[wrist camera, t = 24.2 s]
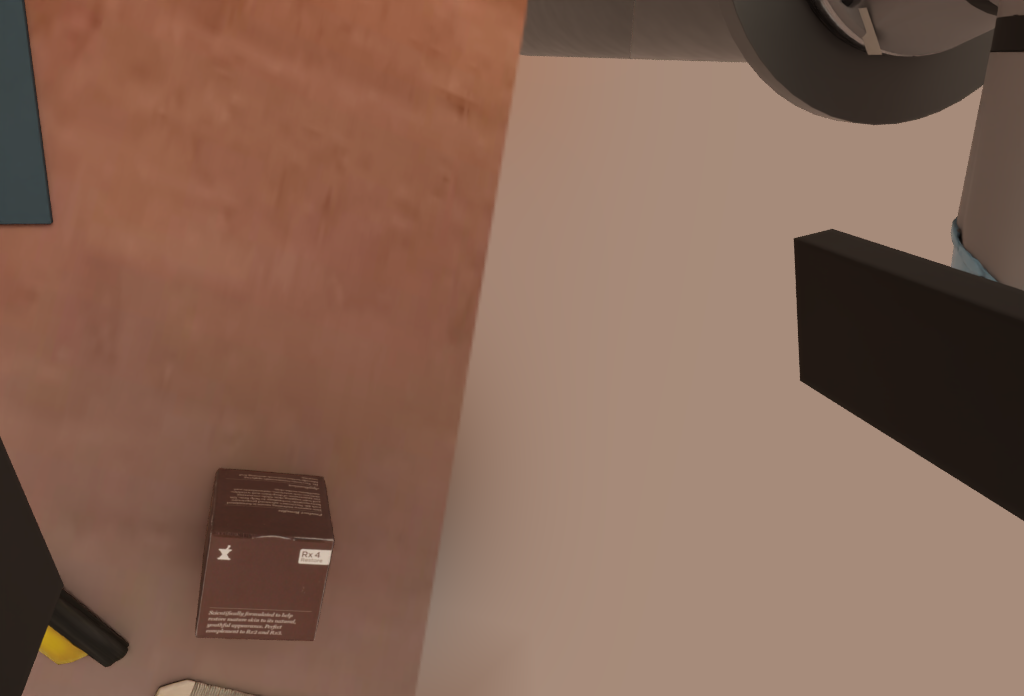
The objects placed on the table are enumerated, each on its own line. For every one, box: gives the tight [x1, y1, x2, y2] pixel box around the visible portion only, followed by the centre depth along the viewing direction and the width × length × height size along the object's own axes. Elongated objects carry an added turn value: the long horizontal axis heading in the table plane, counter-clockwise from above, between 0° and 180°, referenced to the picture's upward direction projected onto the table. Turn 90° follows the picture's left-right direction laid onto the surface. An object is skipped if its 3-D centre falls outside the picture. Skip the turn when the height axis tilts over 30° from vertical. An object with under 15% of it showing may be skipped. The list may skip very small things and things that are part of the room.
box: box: [195, 468, 335, 641], centre depth 46 cm, size 6×6×7 cm
